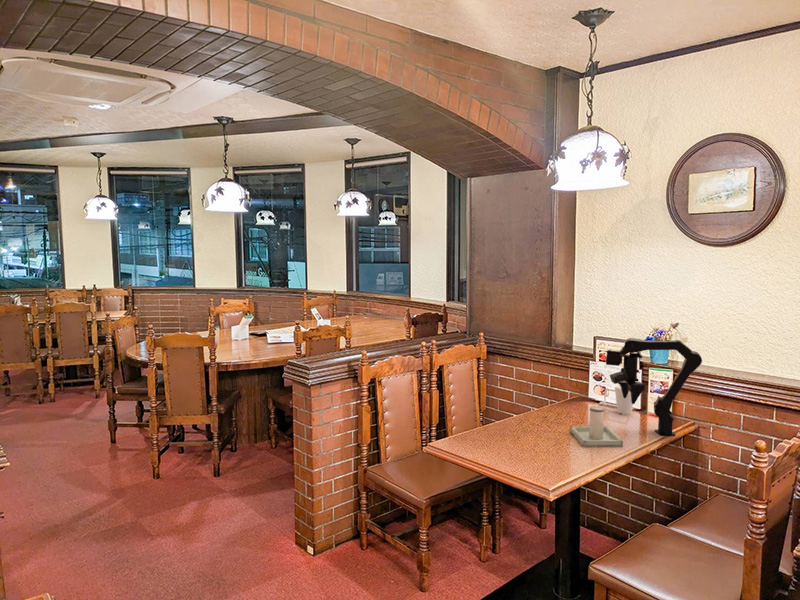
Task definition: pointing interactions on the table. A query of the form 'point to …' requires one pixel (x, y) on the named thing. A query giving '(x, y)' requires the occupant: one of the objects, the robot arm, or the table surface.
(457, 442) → the table surface
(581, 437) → the tray
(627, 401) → the foam cup
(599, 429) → the tumbler
